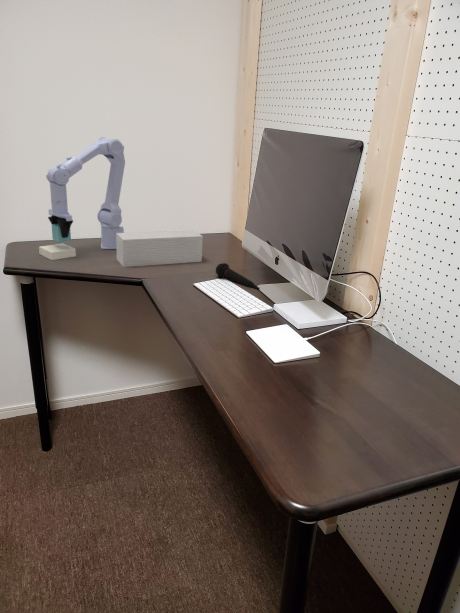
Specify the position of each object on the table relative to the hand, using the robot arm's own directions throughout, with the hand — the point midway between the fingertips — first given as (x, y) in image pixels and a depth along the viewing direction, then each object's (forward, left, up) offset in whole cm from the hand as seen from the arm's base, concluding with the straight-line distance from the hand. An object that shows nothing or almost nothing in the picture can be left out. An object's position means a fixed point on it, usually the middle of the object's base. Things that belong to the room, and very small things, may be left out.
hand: (61, 236), depth 180 cm
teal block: (0, 0, -2) cm, 2 cm away
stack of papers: (-37, +10, -8) cm, 39 cm away
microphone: (-60, +39, -8) cm, 72 cm away
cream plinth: (+2, +1, -7) cm, 8 cm away
